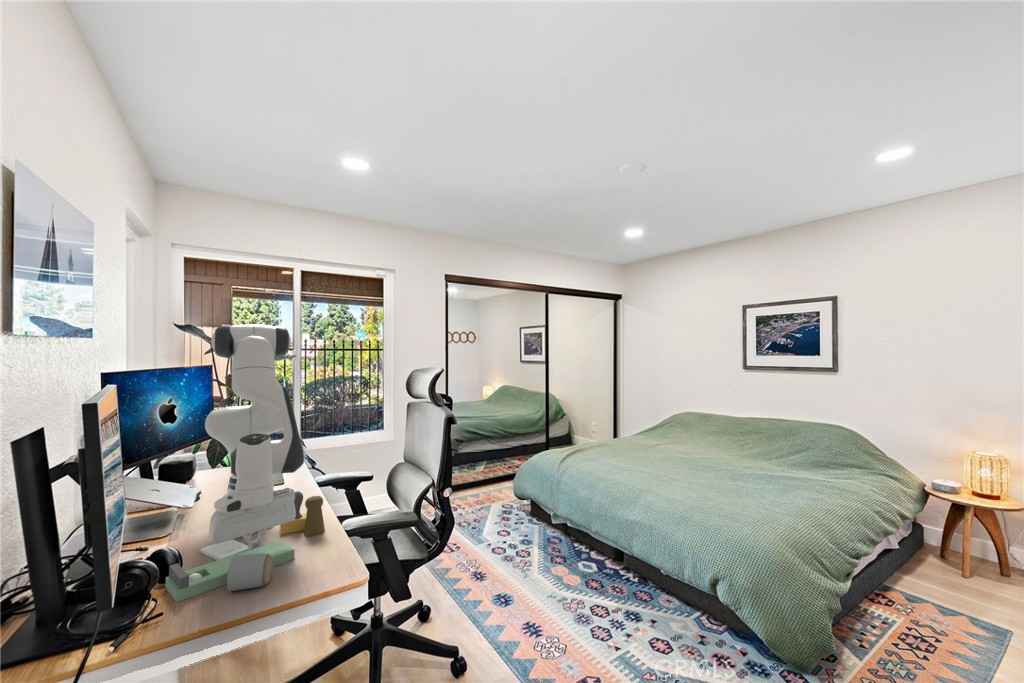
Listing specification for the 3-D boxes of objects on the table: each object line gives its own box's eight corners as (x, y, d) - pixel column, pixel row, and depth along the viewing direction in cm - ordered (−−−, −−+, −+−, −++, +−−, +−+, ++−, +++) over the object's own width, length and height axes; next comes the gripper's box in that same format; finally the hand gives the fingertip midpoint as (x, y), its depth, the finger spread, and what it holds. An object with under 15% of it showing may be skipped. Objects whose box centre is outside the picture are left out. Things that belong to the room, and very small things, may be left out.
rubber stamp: (280, 535, 133) (280, 496, 133) (280, 529, 138) (280, 491, 138) (315, 528, 138) (314, 491, 138) (313, 522, 143) (313, 486, 143)
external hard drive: (231, 543, 129) (252, 552, 122) (200, 554, 122) (221, 564, 116) (231, 537, 129) (252, 546, 123) (200, 548, 122) (220, 558, 116)
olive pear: (316, 536, 131) (316, 500, 131) (299, 535, 132) (299, 499, 132) (328, 528, 137) (328, 494, 137) (312, 527, 138) (312, 493, 138)
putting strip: (165, 587, 103) (165, 566, 103) (279, 548, 123) (279, 531, 123) (176, 602, 96) (176, 579, 97) (294, 558, 116) (294, 540, 117)
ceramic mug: (266, 591, 100) (266, 557, 101) (226, 598, 98) (226, 563, 98) (276, 570, 110) (276, 540, 111) (240, 576, 108) (240, 545, 108)
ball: (185, 588, 103) (182, 575, 103) (201, 580, 105) (198, 568, 105) (188, 593, 101) (186, 580, 100) (204, 585, 103) (202, 572, 103)
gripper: (290, 484, 124) (290, 531, 124) (206, 504, 109) (206, 558, 108) (299, 488, 120) (299, 537, 120) (214, 509, 105) (214, 566, 104)
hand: (255, 547), depth 114 cm, fingers closed
